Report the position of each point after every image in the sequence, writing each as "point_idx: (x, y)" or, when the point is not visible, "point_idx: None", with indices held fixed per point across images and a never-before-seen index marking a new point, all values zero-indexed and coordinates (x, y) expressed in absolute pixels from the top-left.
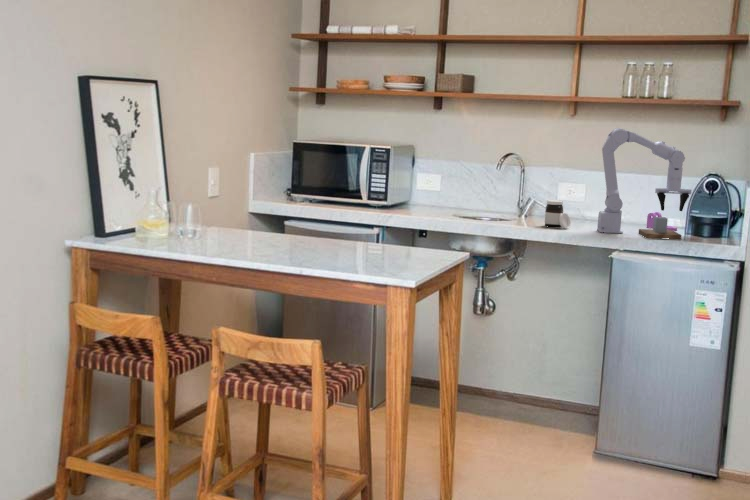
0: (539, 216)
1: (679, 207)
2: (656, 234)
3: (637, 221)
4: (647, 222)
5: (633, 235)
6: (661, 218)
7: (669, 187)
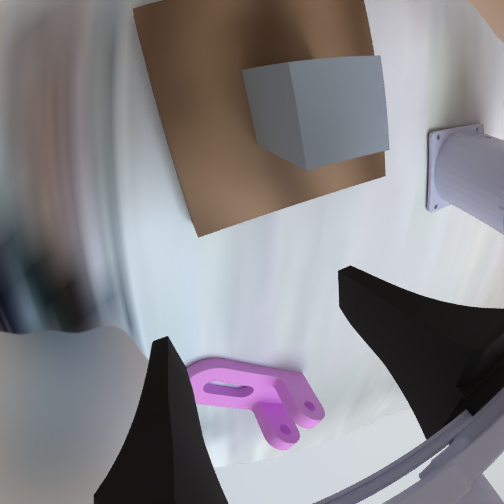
0: None
1: (193, 395)
2: None
3: (307, 439)
4: (309, 388)
5: (395, 93)
6: (343, 57)
7: (495, 493)
